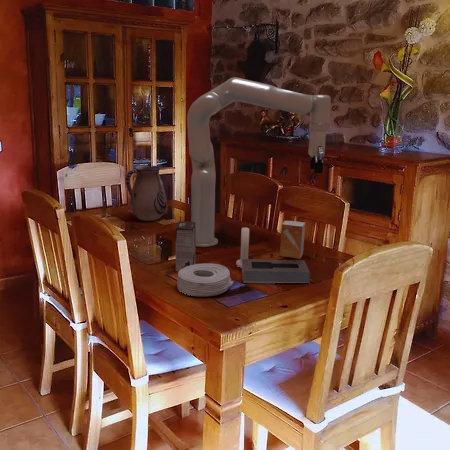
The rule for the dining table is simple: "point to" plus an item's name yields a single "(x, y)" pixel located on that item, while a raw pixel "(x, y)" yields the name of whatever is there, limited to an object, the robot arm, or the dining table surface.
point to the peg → (244, 246)
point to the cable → (204, 280)
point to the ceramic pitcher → (146, 193)
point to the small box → (292, 239)
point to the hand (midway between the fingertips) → (315, 170)
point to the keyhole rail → (275, 271)
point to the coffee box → (185, 244)
